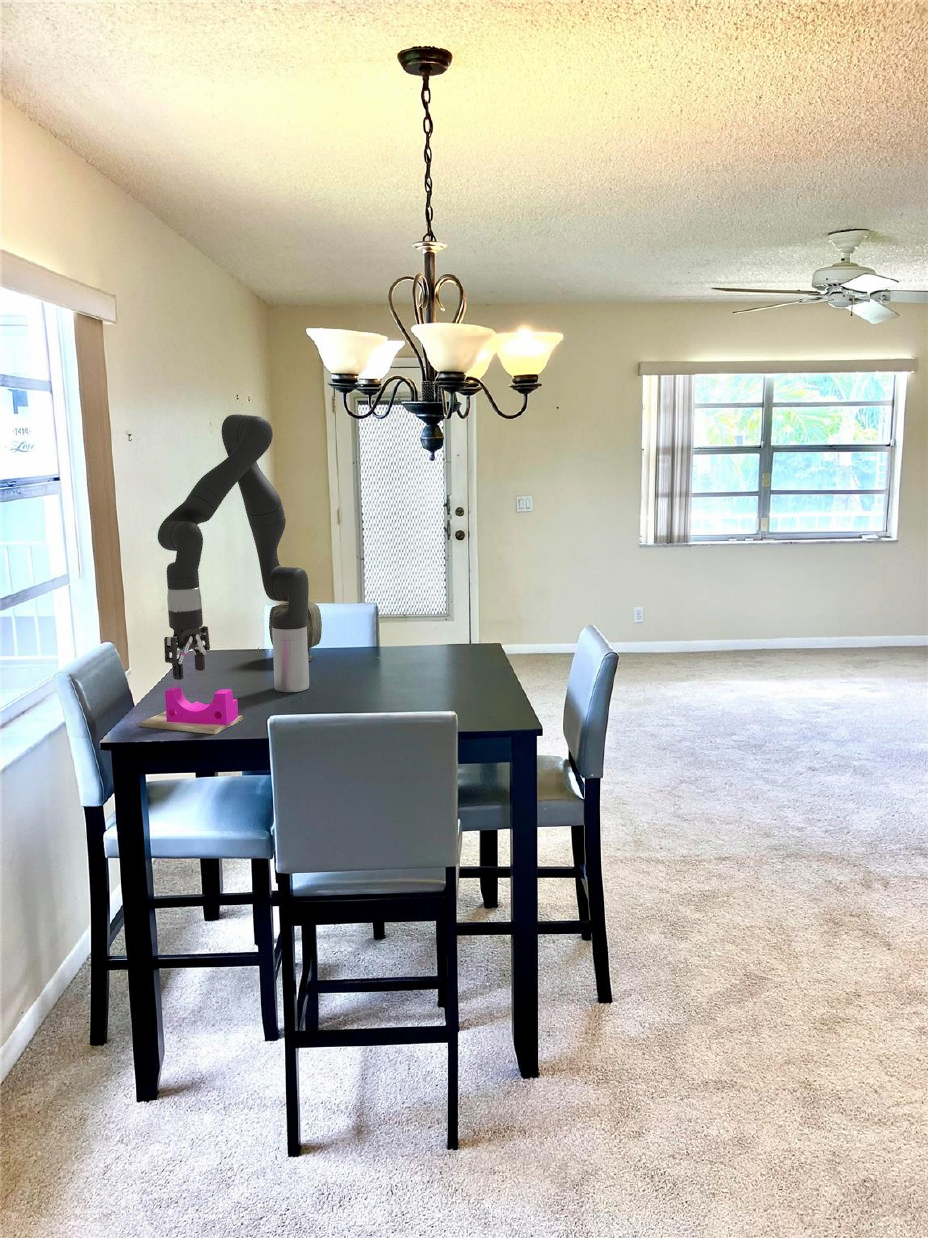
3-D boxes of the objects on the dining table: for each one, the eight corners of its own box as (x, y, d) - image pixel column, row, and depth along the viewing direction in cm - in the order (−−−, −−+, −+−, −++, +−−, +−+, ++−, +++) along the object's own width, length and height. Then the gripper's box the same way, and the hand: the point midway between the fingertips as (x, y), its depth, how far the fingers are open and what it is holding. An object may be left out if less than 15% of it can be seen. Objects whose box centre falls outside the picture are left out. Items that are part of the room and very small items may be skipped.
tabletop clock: (270, 660, 276) (267, 580, 271) (282, 654, 284) (279, 577, 280) (313, 662, 272) (311, 582, 268) (324, 656, 281) (322, 578, 277)
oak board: (171, 712, 218) (171, 708, 218) (243, 719, 213) (242, 715, 212) (140, 726, 207) (140, 722, 207) (214, 734, 201) (214, 730, 201)
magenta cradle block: (238, 717, 211) (236, 687, 210) (226, 725, 205) (225, 693, 204) (179, 714, 213) (177, 684, 212) (166, 721, 207) (164, 690, 206)
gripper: (189, 600, 213) (193, 666, 216) (151, 611, 199) (157, 681, 203) (216, 602, 210) (220, 668, 214) (180, 613, 197) (185, 683, 200)
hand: (189, 674), depth 208 cm, fingers open, 8 cm apart
